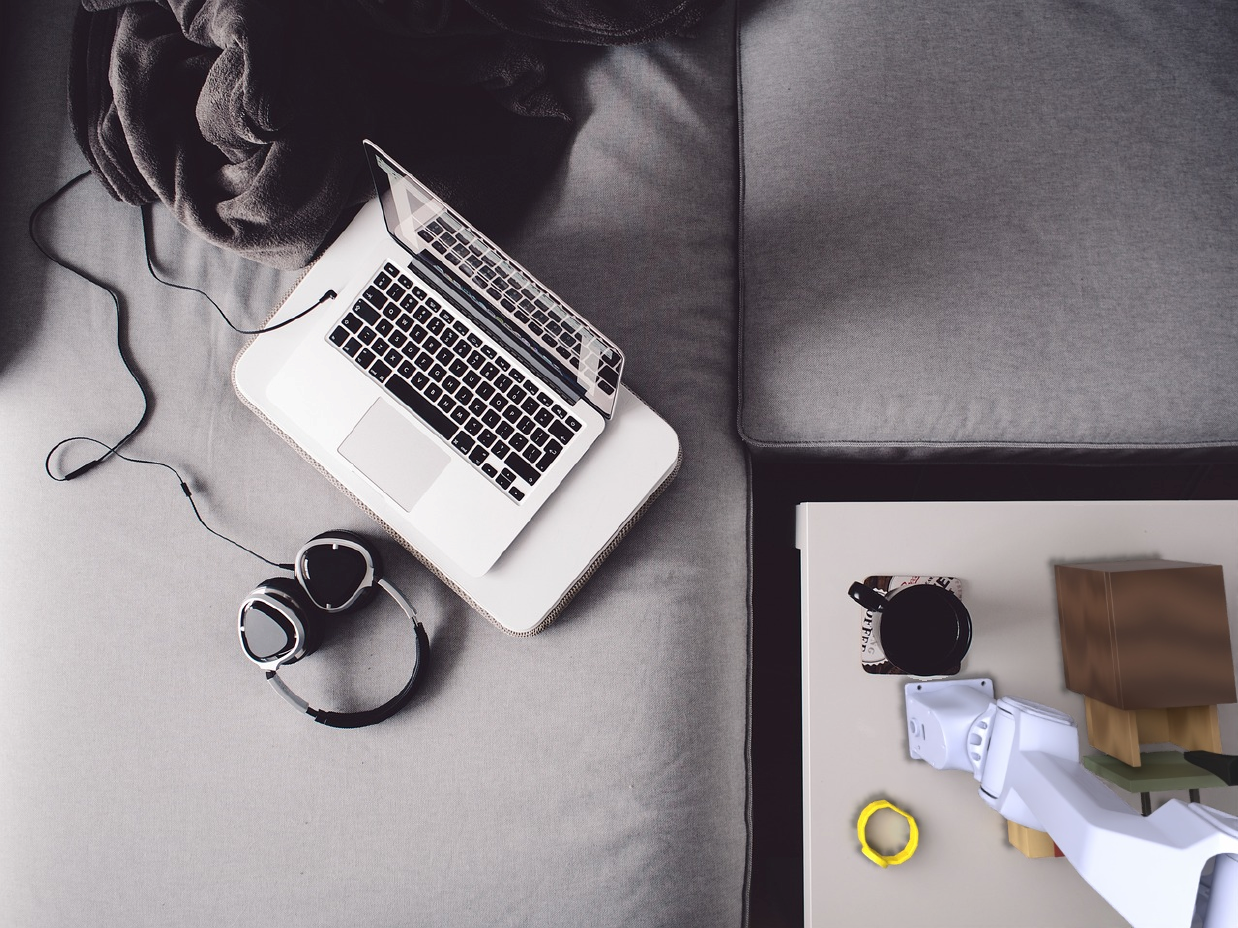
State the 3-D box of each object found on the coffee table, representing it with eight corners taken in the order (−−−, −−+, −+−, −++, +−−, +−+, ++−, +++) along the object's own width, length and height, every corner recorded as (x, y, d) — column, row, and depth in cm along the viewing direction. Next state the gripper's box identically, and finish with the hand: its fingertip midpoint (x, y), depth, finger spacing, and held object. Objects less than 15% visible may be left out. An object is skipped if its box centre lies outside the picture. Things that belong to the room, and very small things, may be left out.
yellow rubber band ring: (871, 787, 75) (843, 836, 74) (881, 795, 72) (851, 846, 71) (919, 821, 74) (891, 870, 73) (931, 830, 72) (901, 881, 71)
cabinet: (1167, 681, 76) (1237, 703, 67) (1065, 688, 75) (1123, 710, 67) (1155, 558, 76) (1222, 565, 68) (1053, 564, 76) (1109, 572, 68)
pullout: (1181, 801, 74) (1238, 831, 67) (1087, 808, 74) (1135, 838, 67) (1164, 644, 75) (1219, 657, 68) (1072, 650, 75) (1118, 664, 68)
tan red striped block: (1008, 842, 74) (1029, 859, 71) (1005, 812, 74) (1026, 828, 71) (1072, 837, 74) (1096, 854, 71) (1069, 808, 75) (1093, 823, 71)
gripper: (1417, 965, 52) (1248, 870, 65) (1391, 768, 53) (1230, 715, 66) (1326, 973, 52) (1176, 876, 65) (1302, 775, 53) (1158, 720, 66)
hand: (1198, 795), depth 66 cm, fingers open, 7 cm apart
